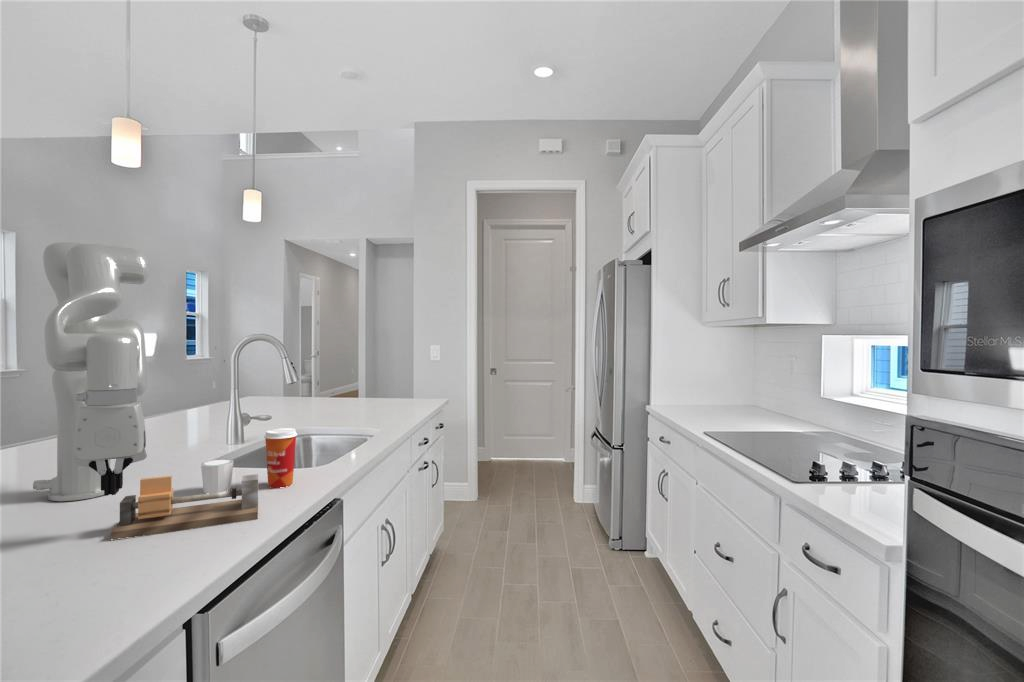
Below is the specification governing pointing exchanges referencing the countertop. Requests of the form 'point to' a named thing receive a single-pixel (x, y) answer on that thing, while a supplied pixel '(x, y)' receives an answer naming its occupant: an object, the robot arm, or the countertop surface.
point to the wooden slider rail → (191, 512)
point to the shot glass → (217, 475)
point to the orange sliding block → (155, 497)
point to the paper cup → (280, 456)
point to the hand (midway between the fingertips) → (111, 493)
